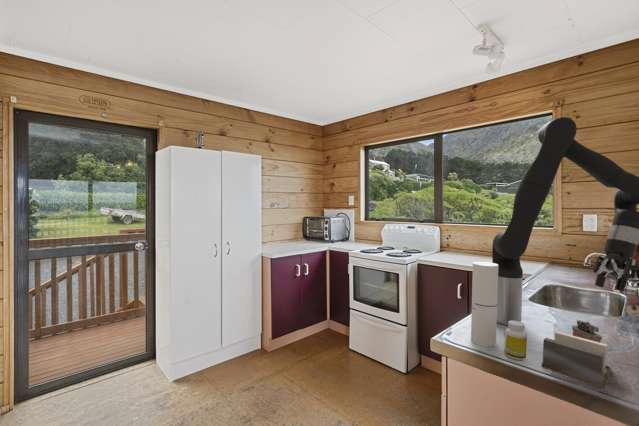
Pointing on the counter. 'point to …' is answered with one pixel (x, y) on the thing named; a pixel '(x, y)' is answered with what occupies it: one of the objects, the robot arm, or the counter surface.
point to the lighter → (586, 331)
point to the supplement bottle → (515, 340)
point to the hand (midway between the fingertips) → (608, 288)
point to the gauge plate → (583, 344)
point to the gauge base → (574, 362)
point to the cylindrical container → (484, 303)
